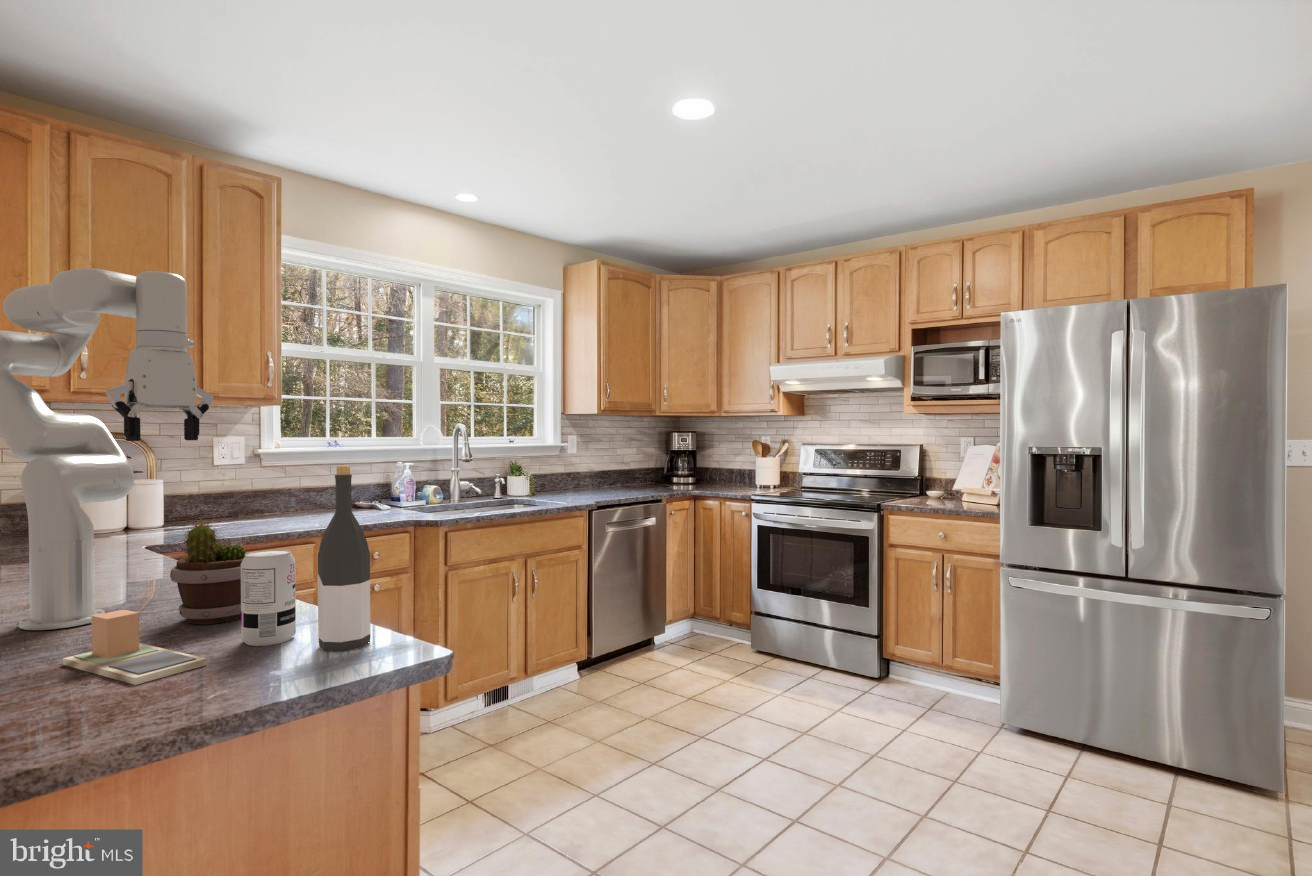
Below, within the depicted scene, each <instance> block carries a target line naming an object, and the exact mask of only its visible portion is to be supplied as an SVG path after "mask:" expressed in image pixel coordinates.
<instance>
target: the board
mask: <svg viewBox="0 0 1312 876" xmlns="http://www.w3.org/2000/svg"><path fill="white" fill-rule="evenodd" d="M207 660H208V659H207V658H206V657H202V656H198V655H197V656H196V655H195V654H194V655H193V654H190V653H189V654H188V653H186V652H181V651H177V650H171V649H167V648H164V647H158V646H154V645H150V644H145V643H141V642H139V651H135V652H131V653H127V654H123V655H119V656H115V657H111V658H104V657H101V656H97V655H93V654H92V651H88V652H83V653H80V654H76V655H71V656H67V657H63V658H62V665H63V666H66V667H70V668H74V669H77V670H79V671H84V672H88V673H90V674H91V673H92V674H96V675H98V676H101V677H106V678H110V679H113V680H116V681H120V682H123V683H126V684H127V683H128V684H130V685H135V686H137V685H140V684H143V683H147V682H148V683H149V682H150V681H154V680H158V679H161V678H165V677H169V676H172V675H173V676H174V675H175V674H180V673H182V672H187V671H189V670H193V669H197V668H201V667H204V666H207V665H208V664H207V663H208V662H207Z"/></svg>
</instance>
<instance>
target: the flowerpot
mask: <svg viewBox="0 0 1312 876" xmlns="http://www.w3.org/2000/svg"><path fill="white" fill-rule="evenodd" d="M193 520H194V521H195V522H192V523H193V524H190V525H191V529H189V527H188V528H187V530H185V531H184V534H183V537H184V538H185V539H184V538H182V544H183V545H184V548H183V550H181V552H182V553H183V556H185V557H181V558H180V559H177V561H176V565H175V566H173V567H172V568H171V569H170V574H169V578H170V580H171V581H172V582H174V583H177V589H178V594H179V596H180V599H181V602H182V604H180V605H179V606H178V610H179V612H178V614H179V615H180V617H182V618H184V619H185V620H186V622H187V623H189V624H193V625H194V624H195V625H215V624H216V625H217V624H222V623H228V622H233V621H237V620H238V619H241V563H242V561H243V559H244V557H245V554H247V553H248V552H246V551H245V543H241V544H238V545H237V543H238V542H239V540H237V541H236V542H235V543H234V542H232V543H231V544H230V545H228V542H224V544H221V543H220V541H221V539H220V537H219V538H218V535H217V534H220V533H219V531H217V530H218V529H216V527H214V528H212V525H211V524H210V523H209V520H206V519H205V520H202V519H201V517H200V516H199V520H200V522H199V520H197V519H193ZM216 532H217V533H216ZM219 543H220V544H219ZM225 546H226V547H225ZM242 546H243V547H242Z"/></svg>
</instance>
